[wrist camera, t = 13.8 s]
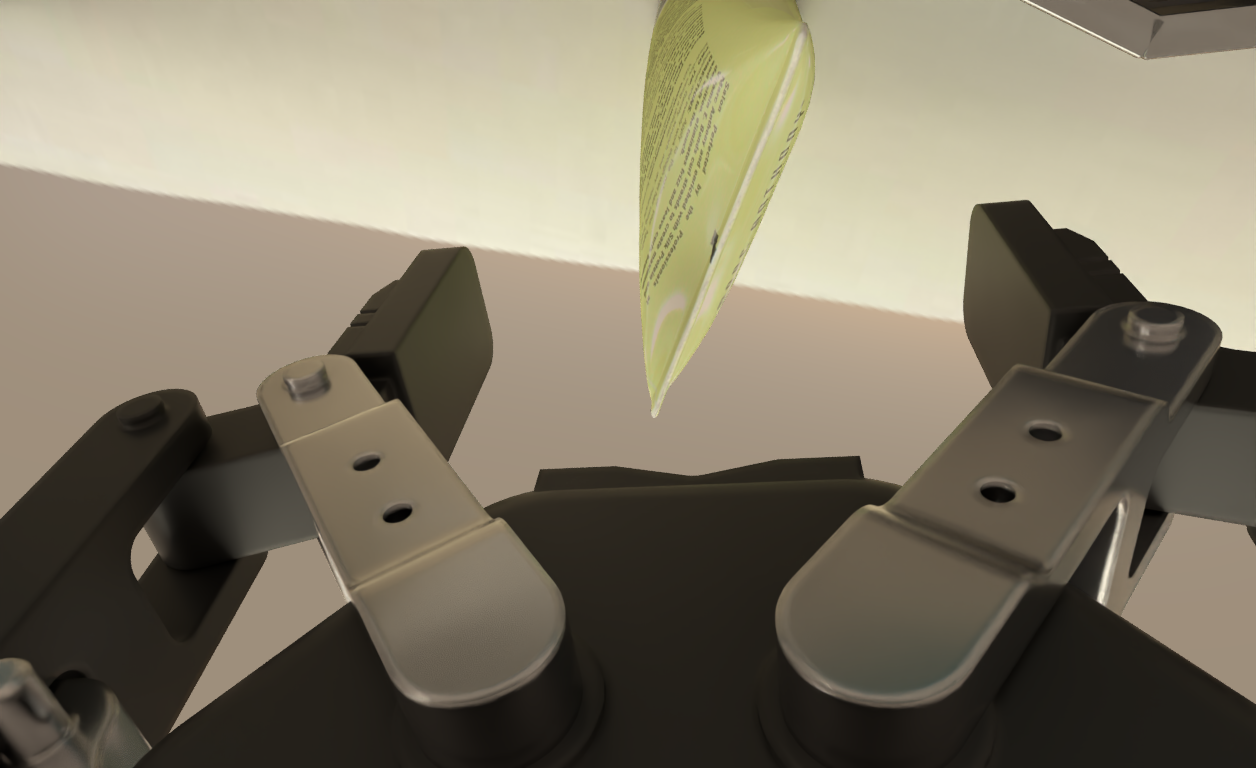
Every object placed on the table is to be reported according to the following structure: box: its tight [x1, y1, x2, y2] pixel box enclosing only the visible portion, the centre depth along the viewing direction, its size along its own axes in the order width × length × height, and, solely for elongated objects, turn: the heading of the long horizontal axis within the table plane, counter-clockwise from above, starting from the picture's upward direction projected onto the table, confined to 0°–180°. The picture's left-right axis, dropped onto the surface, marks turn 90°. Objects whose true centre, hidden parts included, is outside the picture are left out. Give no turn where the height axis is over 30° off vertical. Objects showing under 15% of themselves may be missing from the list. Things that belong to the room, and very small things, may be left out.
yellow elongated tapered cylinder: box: [639, 0, 815, 418], centre depth 23 cm, size 6×5×20 cm
